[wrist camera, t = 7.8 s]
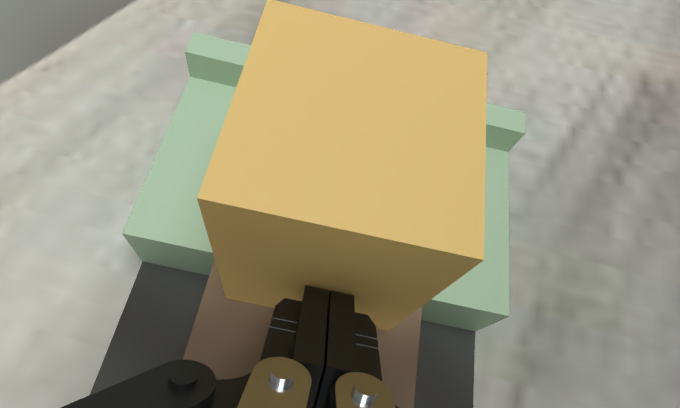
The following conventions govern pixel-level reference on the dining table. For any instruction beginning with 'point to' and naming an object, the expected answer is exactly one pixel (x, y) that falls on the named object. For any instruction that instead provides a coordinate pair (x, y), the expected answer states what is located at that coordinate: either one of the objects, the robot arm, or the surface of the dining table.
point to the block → (348, 165)
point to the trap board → (250, 334)
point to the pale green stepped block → (195, 154)
